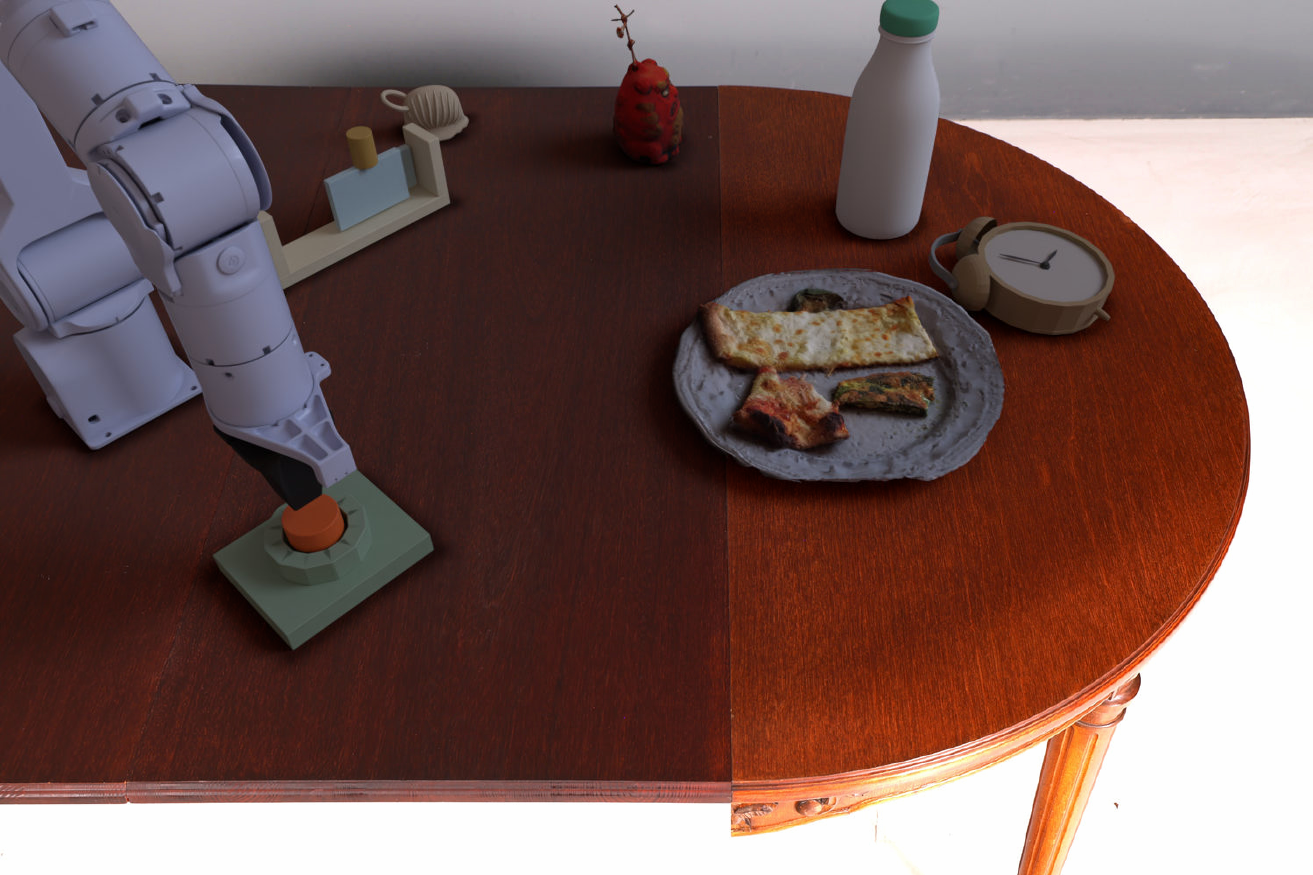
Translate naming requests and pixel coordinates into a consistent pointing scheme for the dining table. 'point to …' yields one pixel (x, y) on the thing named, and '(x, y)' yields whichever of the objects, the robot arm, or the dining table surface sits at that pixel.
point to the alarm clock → (1027, 275)
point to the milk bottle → (891, 126)
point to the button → (313, 525)
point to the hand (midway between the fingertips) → (303, 497)
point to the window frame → (335, 245)
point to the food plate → (839, 377)
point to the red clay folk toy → (646, 109)
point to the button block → (324, 561)
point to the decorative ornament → (431, 110)
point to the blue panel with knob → (366, 181)
